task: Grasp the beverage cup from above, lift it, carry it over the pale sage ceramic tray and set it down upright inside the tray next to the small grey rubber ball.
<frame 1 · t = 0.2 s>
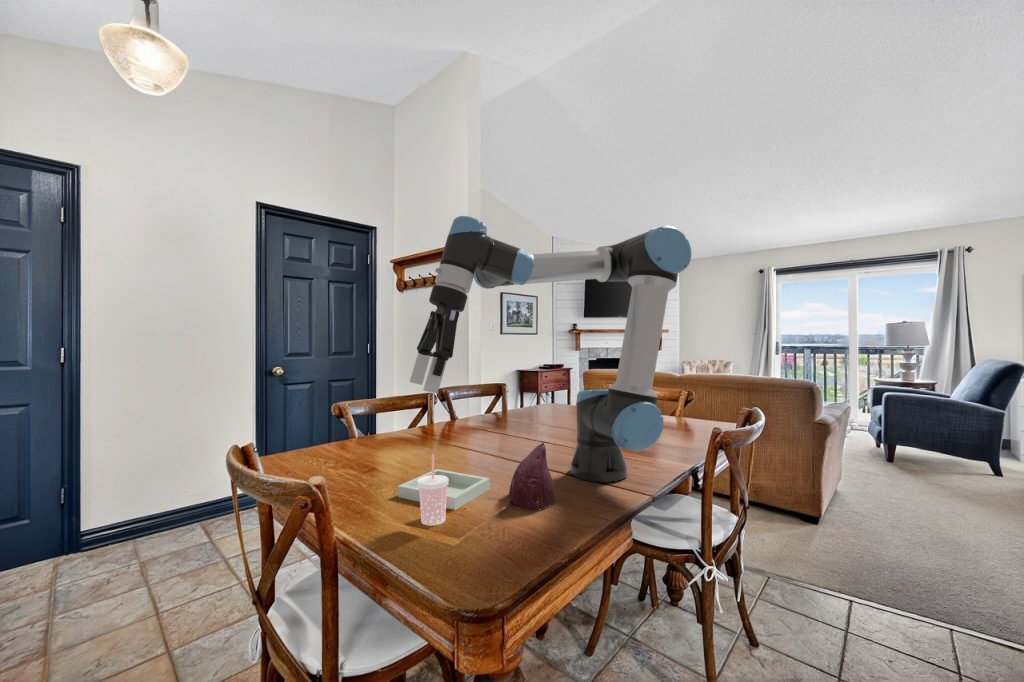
hand: (422, 387, 85), 27 cm above the table, tool tilted 15°, fingers open, 13 cm apart
vegetable: (531, 502, 94), on the table
tray: (445, 496, 97), on the table
ball: (439, 486, 101), point 1 cm above the table, touching tray
beverage cup: (433, 526, 82), on the table
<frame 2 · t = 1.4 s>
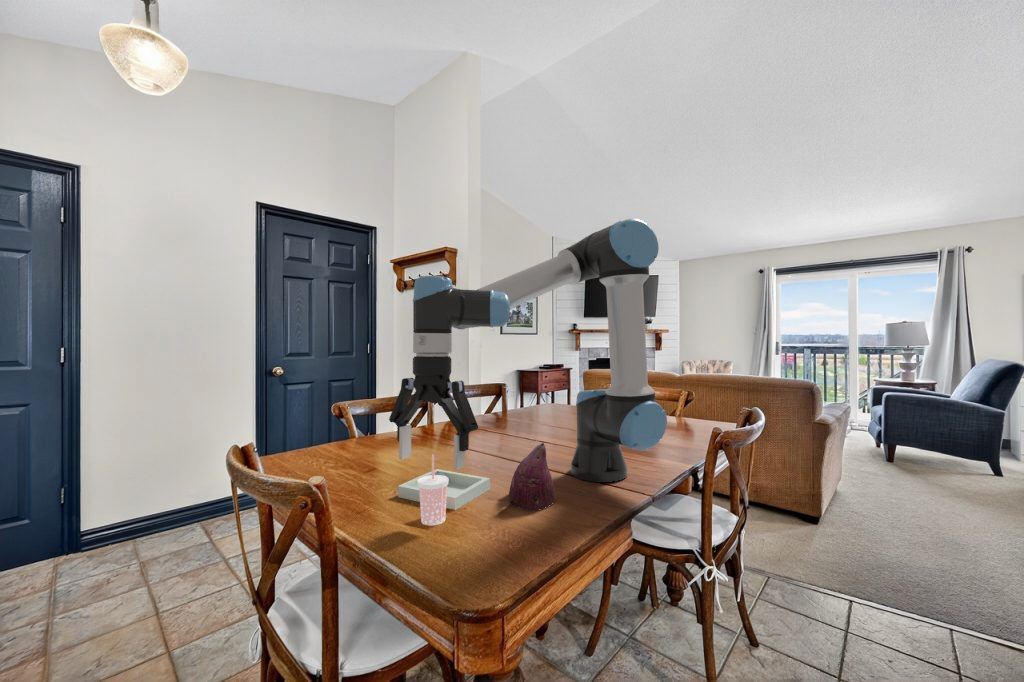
hand: (431, 462, 82), 12 cm above the table, tool pointing down, fingers open, 13 cm apart
nothing on the table moved.
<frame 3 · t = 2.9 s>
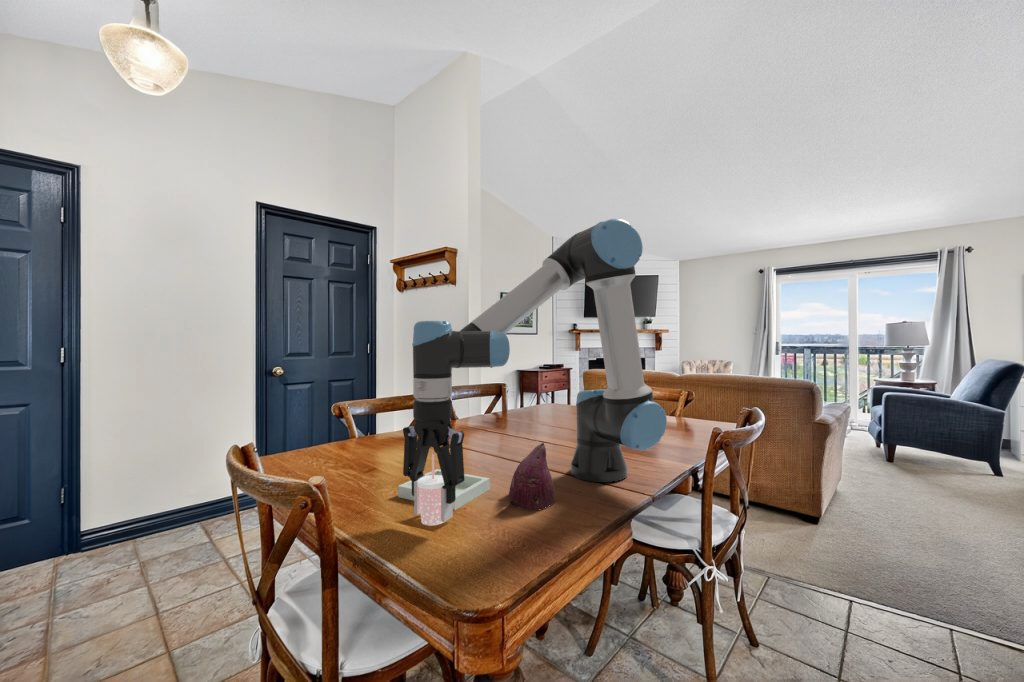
hand: (433, 515, 82), 2 cm above the table, tool pointing down, fingers closed on beverage cup, 6 cm apart
beverage cup: (433, 526, 82), on the table, touching gripper
everything else where it was.
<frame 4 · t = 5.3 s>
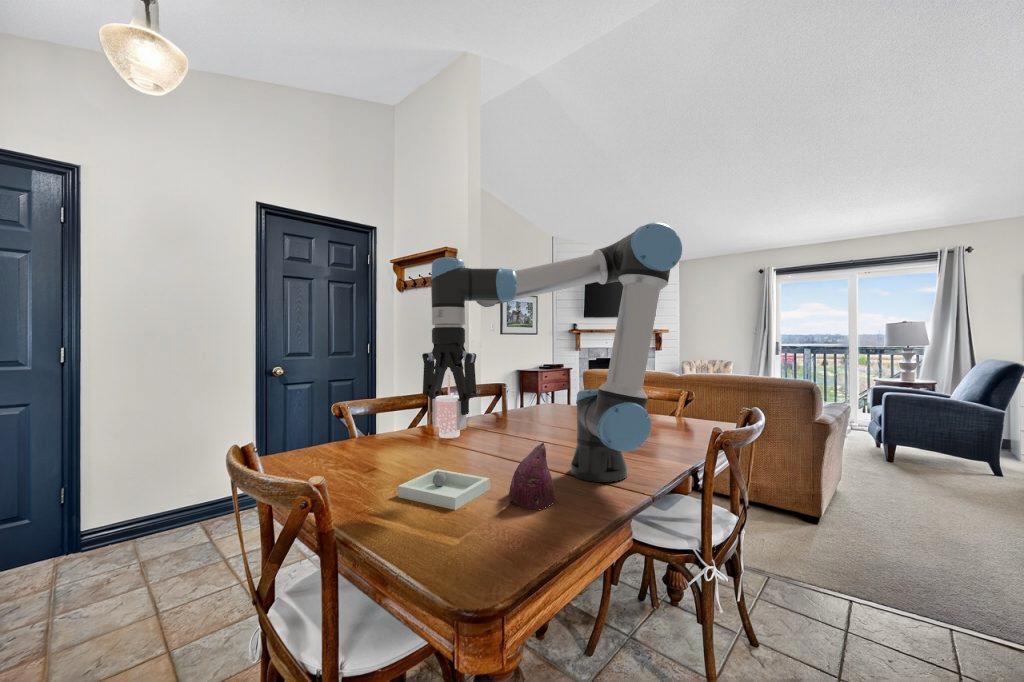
hand: (449, 427, 95), 17 cm above the table, tool pointing down, fingers closed on beverage cup, 6 cm apart
beverage cup: (449, 436, 95), point 15 cm above the table, touching gripper
everything else where it was.
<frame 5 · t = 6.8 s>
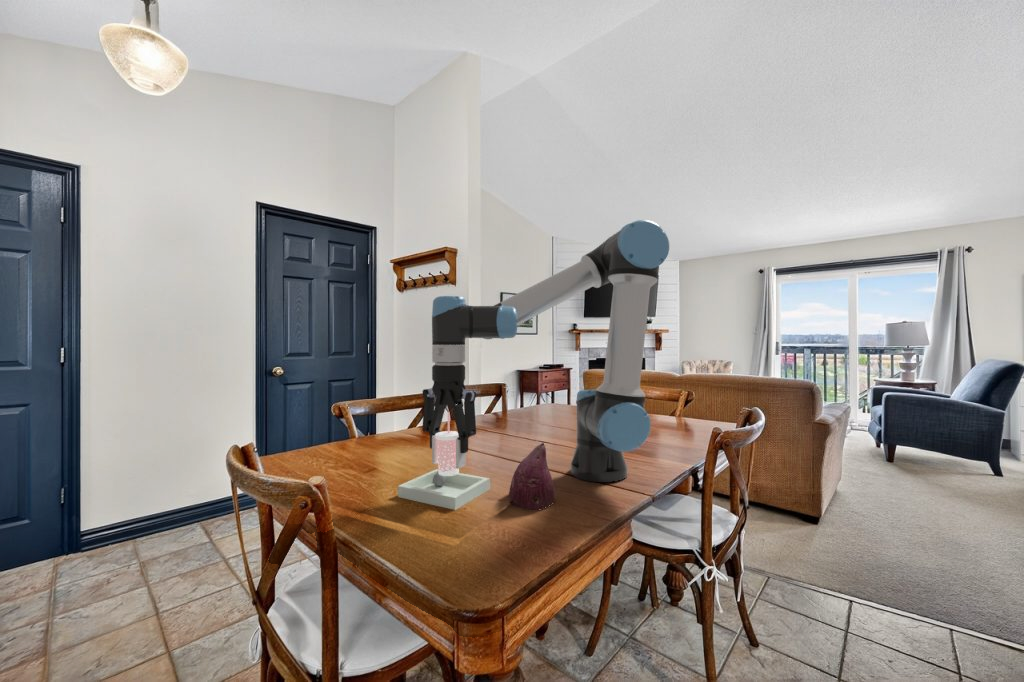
hand: (448, 464, 95), 8 cm above the table, tool pointing down, fingers closed on beverage cup, 6 cm apart
beverage cup: (448, 473, 95), point 6 cm above the table, touching gripper
everything else where it was.
when the fingers open (4 cm above the table, at t = 7.9 s): beverage cup drops 1 cm, resting on tray.
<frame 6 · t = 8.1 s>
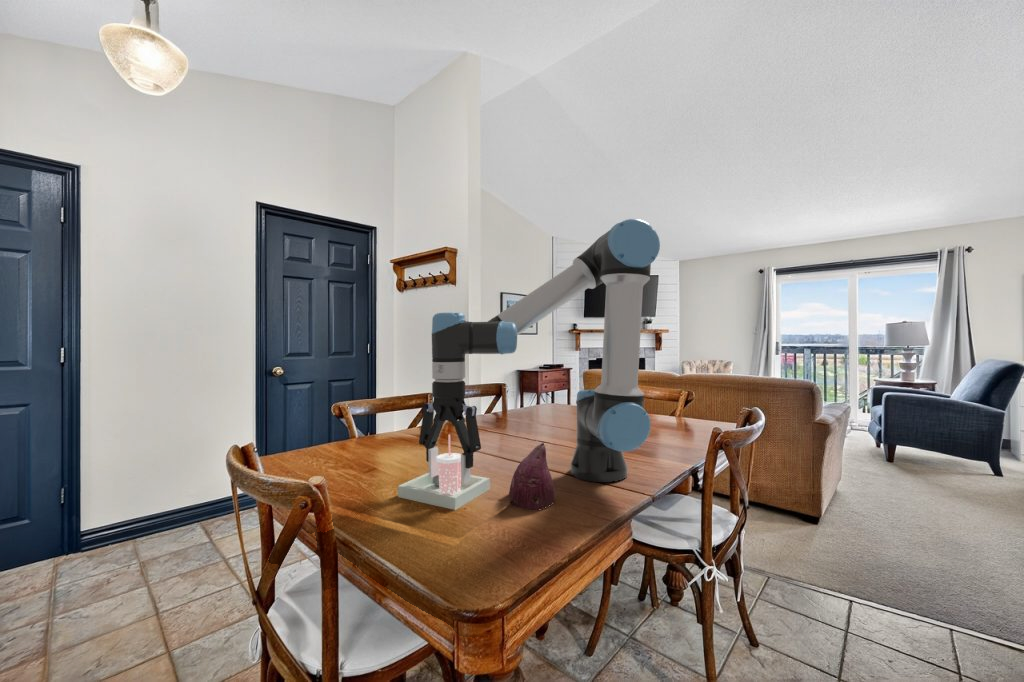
hand: (449, 478, 95), 5 cm above the table, tool pointing down, fingers open, 8 cm apart
beverage cup: (450, 496, 95), point 1 cm above the table, touching tray
everything else where it was.
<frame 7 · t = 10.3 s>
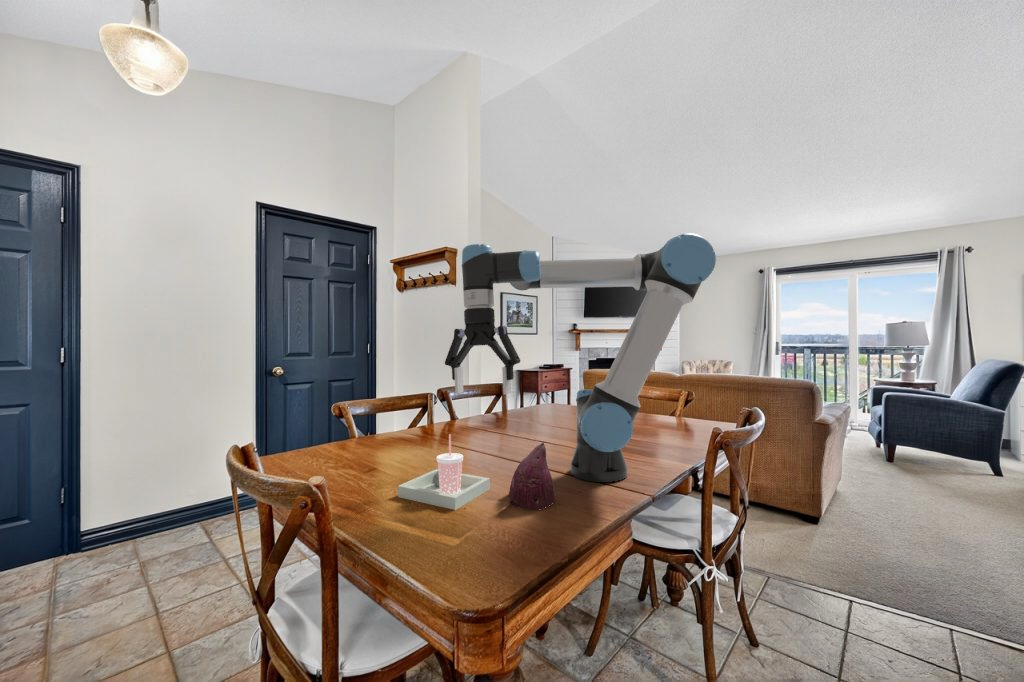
hand: (482, 393, 103), 23 cm above the table, tool pointing down, fingers open, 13 cm apart
nothing on the table moved.
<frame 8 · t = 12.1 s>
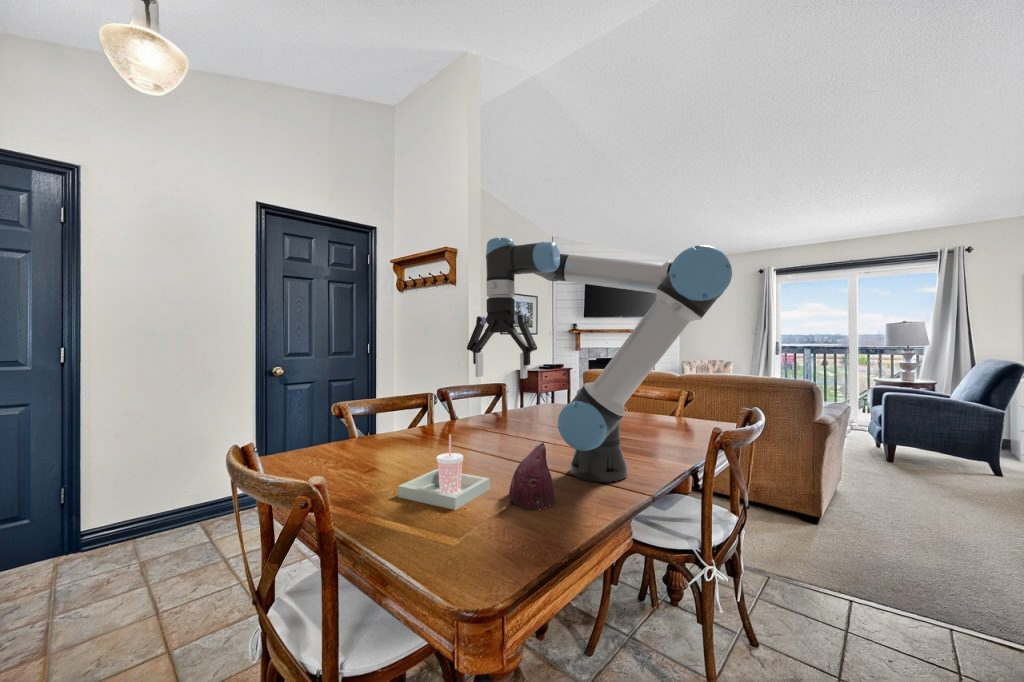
hand: (501, 377, 110), 27 cm above the table, tool pointing down, fingers open, 13 cm apart
nothing on the table moved.
at the end: beverage cup inside the target area on the tray (2.4 cm from its centre), point 0.8 cm above the tray's base; beverage cup tilted 0°; the gripper is holding nothing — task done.
